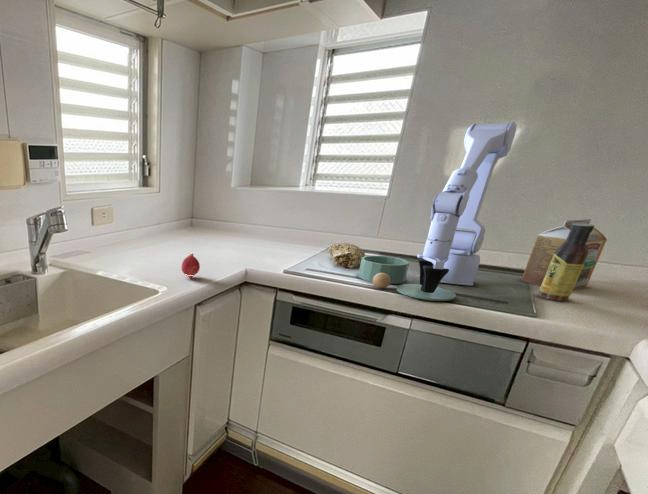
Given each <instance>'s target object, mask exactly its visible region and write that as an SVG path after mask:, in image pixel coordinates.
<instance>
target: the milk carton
mask: <svg viewBox="0 0 648 494" xmlns="http://www.w3.org/2000/svg"><path fill="white" fill-rule="evenodd" d="M591 221H592V219H591V218H584V219H568V220H567V219H566V220H565V221H564V222H563V225H560V226H557V227H553V228H551V229H548V230H544V231H543V232H541V233H539V234H537V236H536V239H535V242H534V244H533V247H532V249H531V252H530V255H529V257H528V260H527V264H526V266H525V269H524V271H523V274H522V277H521V279H520V281H521V282H525V283H530V284H533V285H537V286H541V285H542V282H543V280H544V277H545V274H546V272H547V269H548V267H549V265H550V262H551V260H552V257H553V255H554V253H555V252H556V251H557V249H558V248H559V247H560V246H561V245H562V244H563V243H564V242H565V241H566V239H567V237H568V235H569V232H570V227H571V225H572V224H574V223H582V224H590V223H591ZM587 240H588V241H587V242H586V246H587V248H588V255H587V257H586V260H585V262H584V266H583V268H582V270H581V273H580V275H579V277H578V280H577V282H576V284H575V286H574V289H573V290H575V289H582V288H587V286H588V284H589V282H590V279H591V277H592V275H593V273H594V270H595V268H596V266H597V263H598V261H599V259H600V257H601V254H602V252H603V249H604V248H605V245H606V243H607V241H608V239H607V237H606V236H605V234H604V233H602V232H601V231H600V230H599V229H598V228H596V227H594V228H593V231H592V232H591V233H590V235H589V237H588V239H587Z"/></svg>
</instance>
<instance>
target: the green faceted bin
mask: <svg viewBox="0 0 648 494" xmlns="http://www.w3.org/2000/svg"><path fill="white" fill-rule="evenodd" d="M409 267H410V262H409V260H406V259H404V258H400V257H395V256H389V255H388V256H387V255H365V256H364V257H362V259H361V263H360V264H359V269H358V274H357V275H358V278H359V279H361V280H363V281H365V282H370V283H373V278H374V276H375V275H376V274H378V273H386V274H388V275H389V276H390V279H391V282H390V284H389V285H401V284H403V283H405V281H406V278H407V275H408V271H409Z"/></svg>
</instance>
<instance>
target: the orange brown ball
mask: <svg viewBox="0 0 648 494" xmlns="http://www.w3.org/2000/svg"><path fill="white" fill-rule="evenodd" d="M390 282H391V279H390V276H389V275H388V274H386V273H378V274H376V275H375V276H374V278H373V282H372V284H373V287H375V288H377V289H385V288H387V287H389V285H391V284H390Z"/></svg>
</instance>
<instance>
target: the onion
mask: <svg viewBox="0 0 648 494" xmlns="http://www.w3.org/2000/svg"><path fill="white" fill-rule="evenodd" d="M200 265H201V264H200V261H199V260H198V259H197V258H196V257H195V256H194V253H193V252H191V253H190V254H189V255H188V256H186V257H185V258H184V259H183V260H182V263H181V271H182V273H183V274H184V275H185V274H187V275H194V276H196V275H197V274H198V273H199V272H200V270H201V269H200V268H201V266H200ZM195 274H196V275H195ZM187 275H185V276H187ZM194 276H187V278H189V279H192V278H193V277H194Z"/></svg>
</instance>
